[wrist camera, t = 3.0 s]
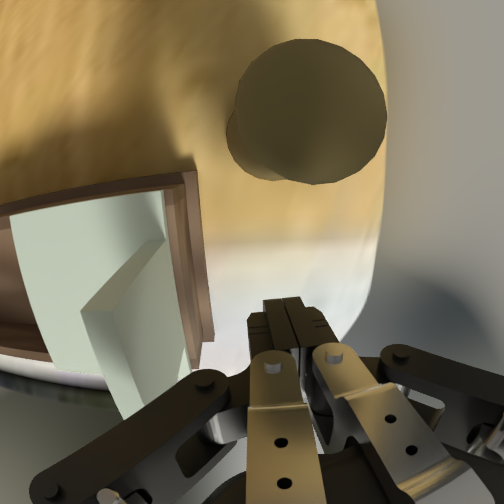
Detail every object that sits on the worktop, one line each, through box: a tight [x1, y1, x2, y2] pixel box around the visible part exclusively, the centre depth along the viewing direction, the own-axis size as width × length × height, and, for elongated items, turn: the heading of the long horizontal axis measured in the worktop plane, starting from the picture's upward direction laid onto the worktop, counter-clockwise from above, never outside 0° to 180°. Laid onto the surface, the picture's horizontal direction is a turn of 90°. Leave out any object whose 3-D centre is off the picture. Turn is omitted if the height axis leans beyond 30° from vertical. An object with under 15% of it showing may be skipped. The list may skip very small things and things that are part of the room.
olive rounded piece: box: [226, 39, 387, 185], centre depth 12 cm, size 6×6×11 cm
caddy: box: [0, 171, 215, 369], centre depth 17 cm, size 12×24×5 cm, turn 93°
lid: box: [9, 190, 192, 420], centre depth 11 cm, size 11×10×8 cm
